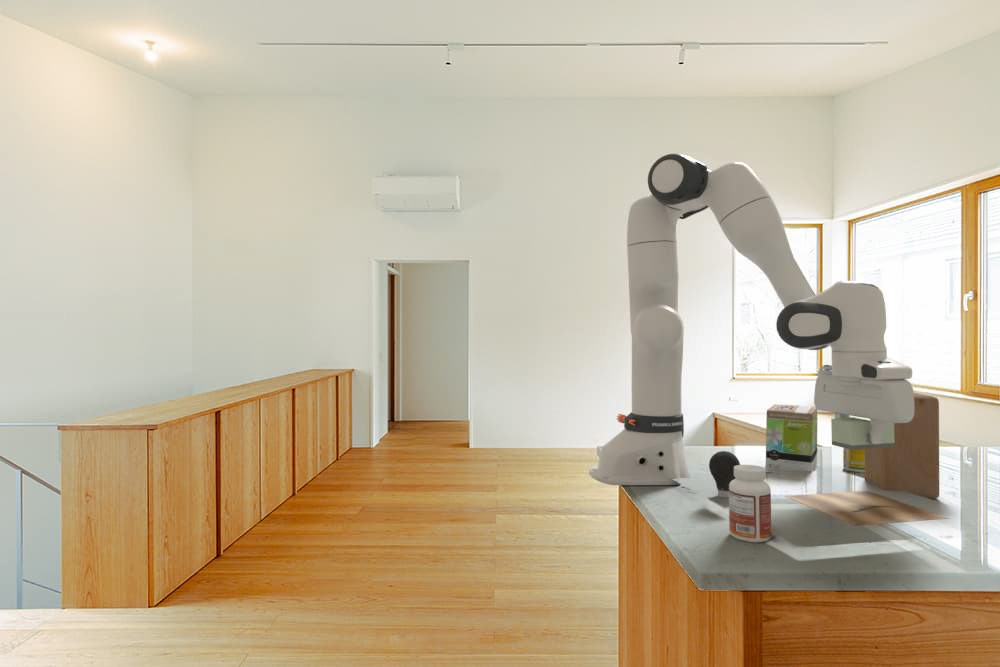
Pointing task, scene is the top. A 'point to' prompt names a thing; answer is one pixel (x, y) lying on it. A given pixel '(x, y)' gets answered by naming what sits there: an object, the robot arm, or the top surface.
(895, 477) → the wooden block
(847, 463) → the supplement bottle
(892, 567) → the top surface
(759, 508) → the pill bottle
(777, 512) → the top surface
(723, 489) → the light bulb
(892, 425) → the block
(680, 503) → the top surface
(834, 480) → the top surface
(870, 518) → the oak board
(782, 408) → the tea box
